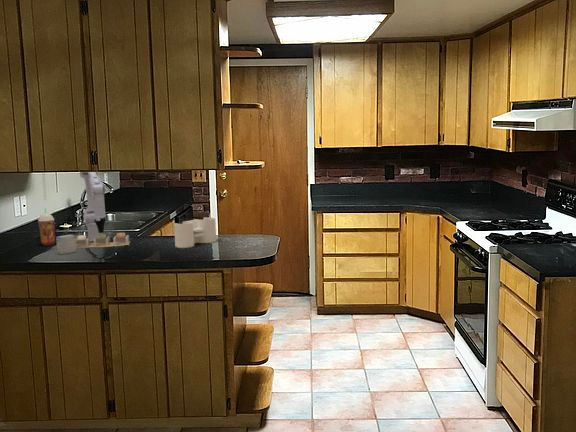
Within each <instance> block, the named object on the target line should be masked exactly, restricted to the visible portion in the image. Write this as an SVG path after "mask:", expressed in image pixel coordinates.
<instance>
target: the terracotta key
mask: <svg viewBox="0 0 576 432" xmlns="http://www.w3.org/2000/svg"><path fill="white" fill-rule="evenodd" d="M125 235H126V232H117V233H116V236H117V238H121V237H125Z"/></svg>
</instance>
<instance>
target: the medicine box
mask: <svg viewBox="0 0 576 432" xmlns="http://www.w3.org/2000/svg"><path fill="white" fill-rule="evenodd" d="M75 239H76V235H75V234H66V235H60V236H55V241H56V249H57V250H56V251H57V255H61V256H63V255H67V254H72V253H77V249H76V243H75Z"/></svg>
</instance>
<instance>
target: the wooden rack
mask: <svg viewBox="0 0 576 432" xmlns="http://www.w3.org/2000/svg"><path fill="white" fill-rule="evenodd" d="M75 243H76V250H80V249H81V250H82V249H98V248H111V247H113V246H114V247H125V245H128V246H130V243H131V240H130V235H129V234H127V235H126V234H125V237H121V238H117V235H115V236H114V237H113V241H112V242H111V239H110V236H109V235H108V236H106V238H105V239H97V237H95V238H94V241H93V243H91V241H90V238H88V237H86V240H78V239H77V238H76V237H75ZM114 247H113V248H114Z"/></svg>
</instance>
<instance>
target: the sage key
mask: <svg viewBox="0 0 576 432" xmlns="http://www.w3.org/2000/svg"><path fill="white" fill-rule="evenodd" d="M106 237H107V234H106V233H102V234H98V235H97V239H105V238H106Z"/></svg>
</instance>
